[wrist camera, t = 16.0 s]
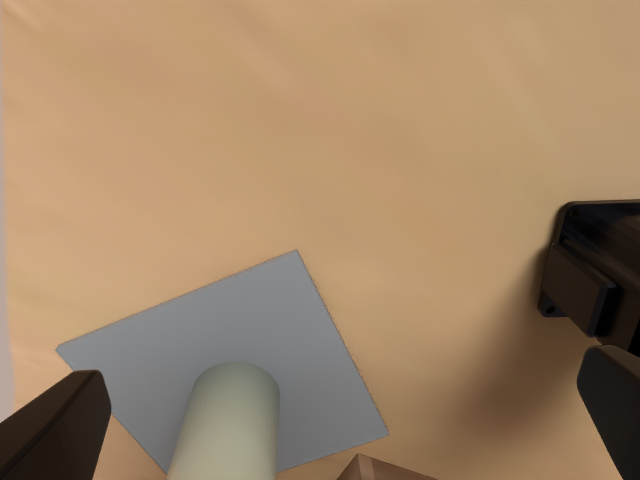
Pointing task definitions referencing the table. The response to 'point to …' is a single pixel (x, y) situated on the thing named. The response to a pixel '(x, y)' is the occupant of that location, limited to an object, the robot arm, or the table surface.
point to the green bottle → (229, 426)
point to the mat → (235, 346)
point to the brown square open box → (377, 471)
